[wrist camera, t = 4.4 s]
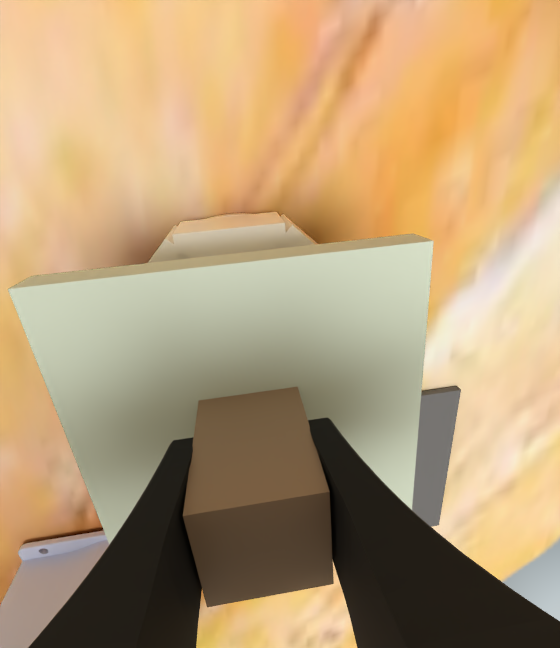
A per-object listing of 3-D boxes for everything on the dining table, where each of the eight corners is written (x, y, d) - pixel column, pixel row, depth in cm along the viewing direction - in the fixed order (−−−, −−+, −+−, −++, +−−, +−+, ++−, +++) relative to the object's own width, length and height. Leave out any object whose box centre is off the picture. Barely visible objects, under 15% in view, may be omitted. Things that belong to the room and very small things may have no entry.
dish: (160, 417, 20) (148, 465, 17) (107, 225, 16) (78, 244, 13) (345, 391, 21) (365, 432, 18) (345, 201, 17) (371, 213, 14)
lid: (129, 544, 15) (80, 726, 10) (31, 275, 10) (-142, 370, 5) (398, 499, 15) (472, 646, 11) (413, 233, 11) (550, 283, 6)
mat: (274, 548, 26) (275, 553, 26) (256, 415, 21) (256, 419, 21) (436, 520, 27) (438, 525, 27) (456, 386, 22) (460, 389, 22)
